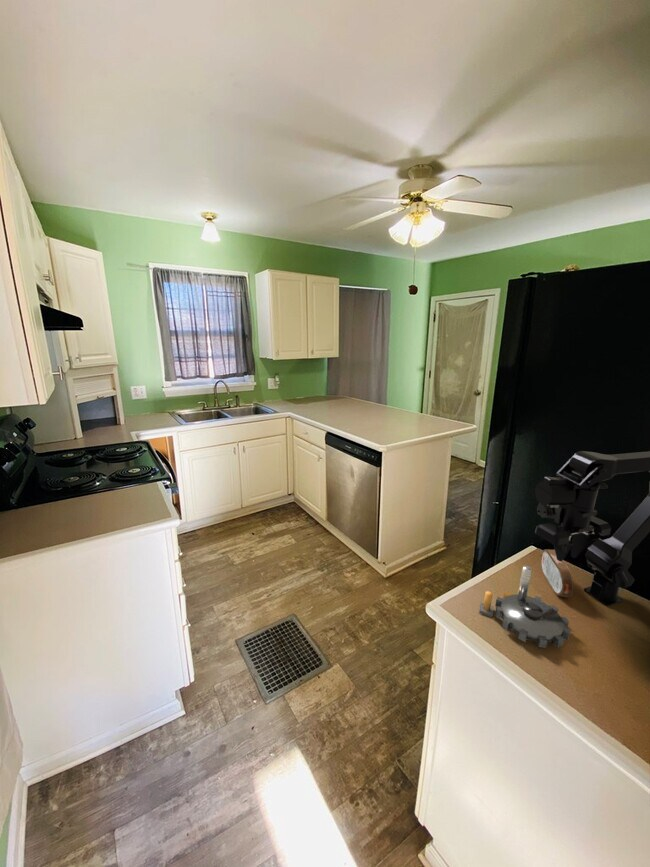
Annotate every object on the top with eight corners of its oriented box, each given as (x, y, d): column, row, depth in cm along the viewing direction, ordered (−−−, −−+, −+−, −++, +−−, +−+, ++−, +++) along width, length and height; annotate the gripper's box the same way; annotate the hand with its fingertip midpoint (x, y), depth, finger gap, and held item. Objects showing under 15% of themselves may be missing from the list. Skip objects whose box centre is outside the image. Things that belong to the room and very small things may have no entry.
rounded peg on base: (492, 609, 90) (496, 591, 88) (492, 617, 87) (495, 599, 86) (479, 605, 91) (483, 587, 90) (479, 612, 89) (482, 595, 87)
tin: (571, 604, 92) (578, 576, 90) (557, 602, 93) (564, 575, 91) (548, 568, 107) (553, 544, 104) (536, 567, 107) (542, 542, 105)
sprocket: (527, 592, 94) (535, 557, 91) (585, 638, 80) (596, 598, 77) (480, 604, 89) (487, 568, 87) (532, 655, 75) (542, 614, 73)
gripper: (575, 486, 97) (563, 536, 101) (522, 494, 91) (512, 547, 96) (619, 504, 87) (604, 559, 91) (563, 514, 81) (549, 573, 85)
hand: (566, 558), depth 91 cm, fingers open, 5 cm apart
